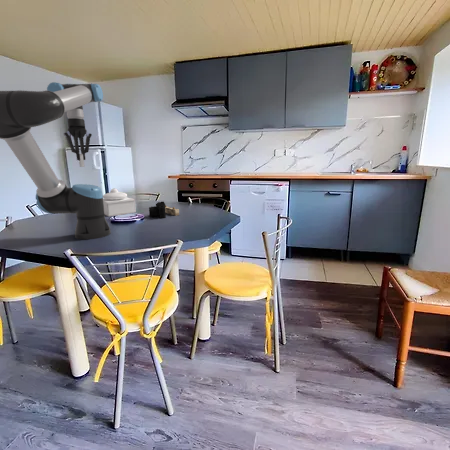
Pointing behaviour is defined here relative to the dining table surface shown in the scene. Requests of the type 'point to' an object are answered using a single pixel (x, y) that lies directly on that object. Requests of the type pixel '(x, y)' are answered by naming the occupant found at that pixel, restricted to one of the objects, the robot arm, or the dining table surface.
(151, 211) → the film camera
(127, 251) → the dining table surface
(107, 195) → the white lidded box
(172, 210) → the oak ledge rail
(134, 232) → the dining table surface
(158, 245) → the dining table surface
